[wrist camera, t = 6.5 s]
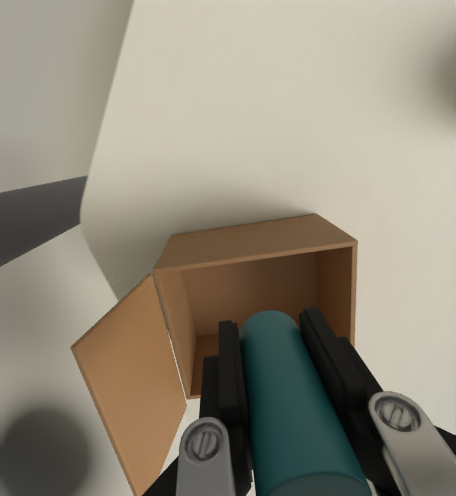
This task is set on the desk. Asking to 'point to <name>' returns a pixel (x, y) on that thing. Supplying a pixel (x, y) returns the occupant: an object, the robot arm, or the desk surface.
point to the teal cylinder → (293, 416)
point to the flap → (134, 383)
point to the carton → (253, 282)
